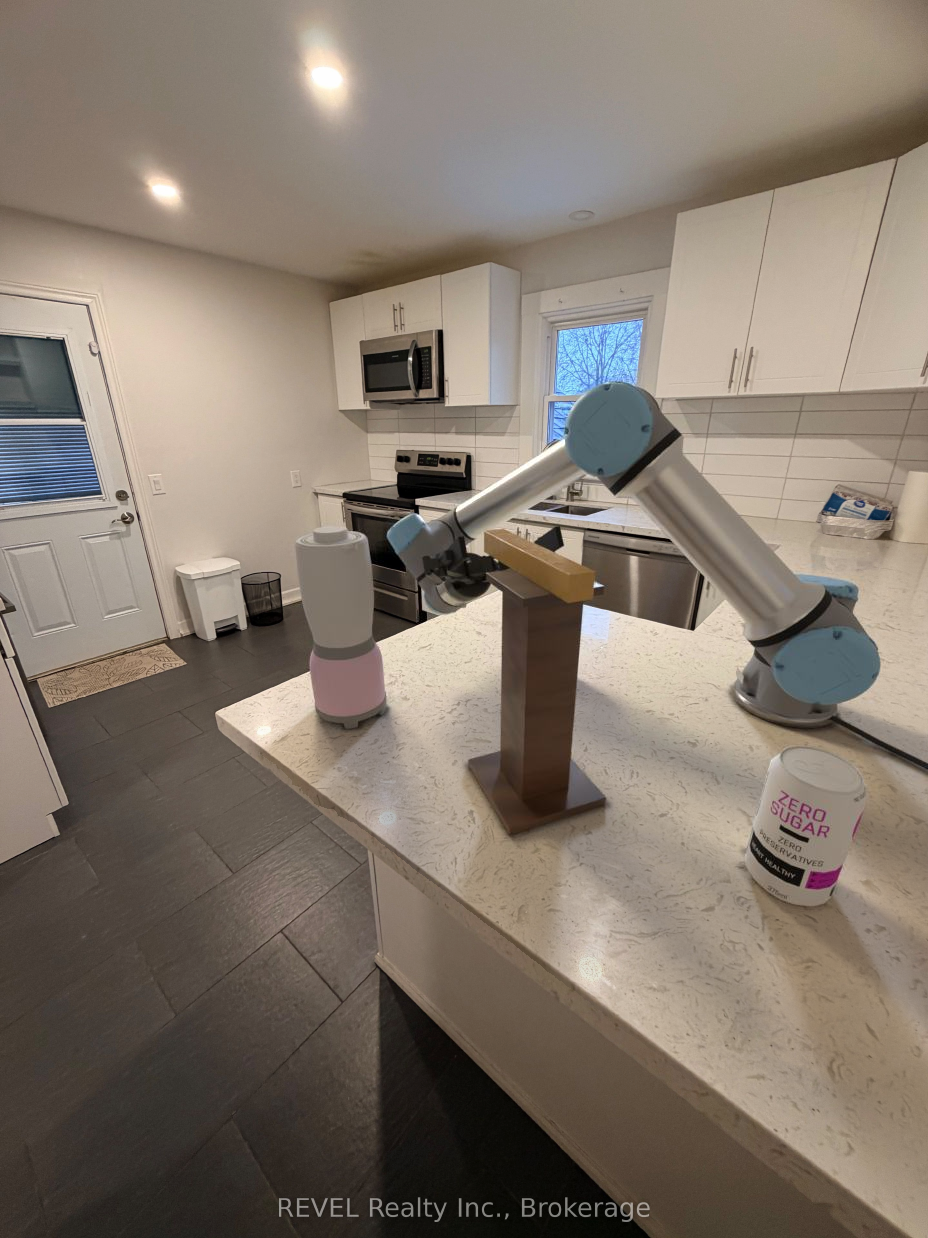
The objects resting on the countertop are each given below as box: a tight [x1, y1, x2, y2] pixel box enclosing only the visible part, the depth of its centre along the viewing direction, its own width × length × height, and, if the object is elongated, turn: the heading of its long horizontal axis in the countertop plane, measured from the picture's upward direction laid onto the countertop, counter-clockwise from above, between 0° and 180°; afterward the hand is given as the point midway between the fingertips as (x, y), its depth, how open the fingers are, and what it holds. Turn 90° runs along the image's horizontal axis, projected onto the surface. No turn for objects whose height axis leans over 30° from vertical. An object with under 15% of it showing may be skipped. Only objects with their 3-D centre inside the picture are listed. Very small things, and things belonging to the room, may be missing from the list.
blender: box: [294, 525, 387, 730], centre depth 82 cm, size 16×12×32 cm
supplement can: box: [743, 744, 869, 907], centre depth 52 cm, size 8×8×15 cm
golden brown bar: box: [483, 528, 596, 603], centre depth 59 cm, size 22×3×3 cm, turn 21°
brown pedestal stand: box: [467, 569, 607, 836], centre depth 63 cm, size 14×14×30 cm
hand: (513, 541), depth 63 cm, fingers open, 13 cm apart
